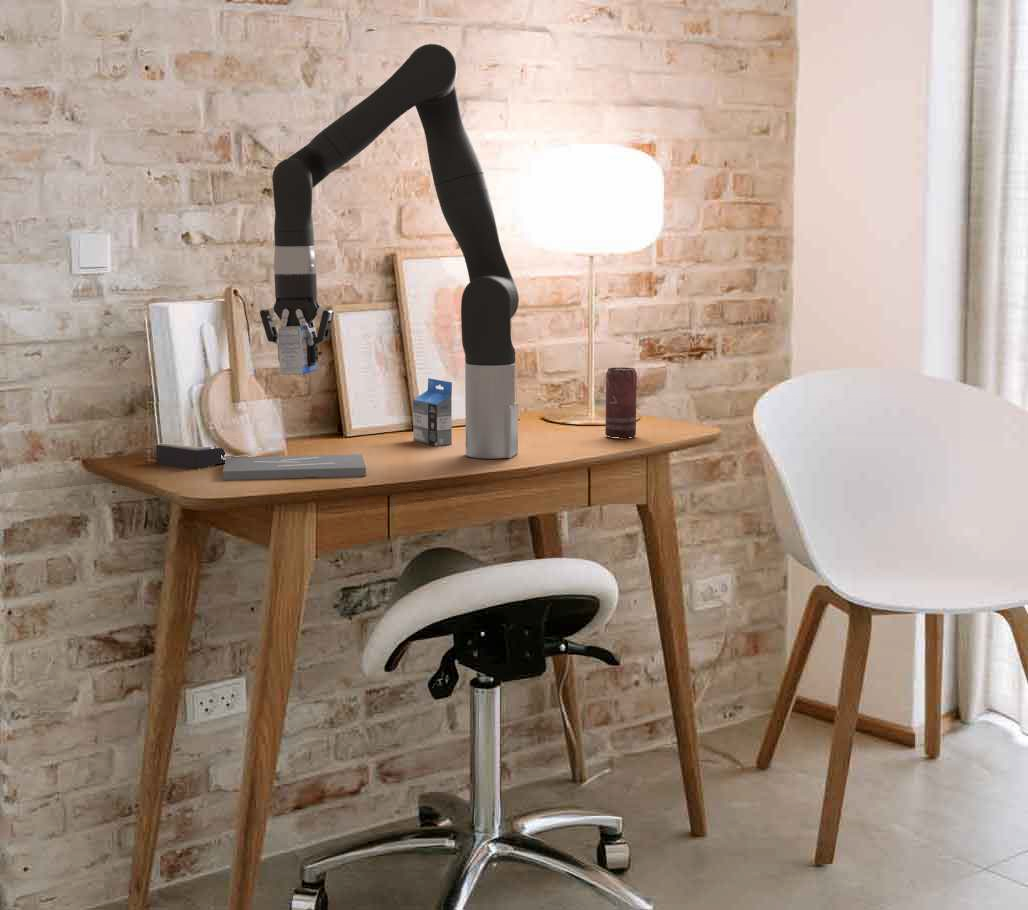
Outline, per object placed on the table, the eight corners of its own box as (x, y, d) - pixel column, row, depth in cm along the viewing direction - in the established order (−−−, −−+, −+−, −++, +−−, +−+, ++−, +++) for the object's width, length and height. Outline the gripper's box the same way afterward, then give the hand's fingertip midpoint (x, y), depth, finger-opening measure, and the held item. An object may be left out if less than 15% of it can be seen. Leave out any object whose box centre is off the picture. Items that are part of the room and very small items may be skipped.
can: (628, 440, 273) (629, 370, 271) (600, 437, 277) (601, 368, 274) (642, 436, 278) (643, 367, 276) (614, 433, 282) (615, 366, 279)
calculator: (259, 440, 252) (195, 446, 240) (259, 463, 253) (195, 470, 241) (219, 434, 259) (154, 440, 247) (219, 457, 259) (154, 464, 247)
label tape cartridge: (412, 440, 273) (411, 379, 271) (428, 439, 275) (427, 378, 273) (436, 446, 266) (435, 383, 264) (453, 444, 268) (452, 382, 266)
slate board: (361, 462, 248) (361, 454, 248) (366, 476, 234) (365, 467, 234) (226, 465, 244) (226, 457, 244) (222, 480, 231) (222, 471, 230)
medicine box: (302, 375, 247) (300, 327, 245) (279, 374, 248) (277, 326, 246) (317, 370, 255) (316, 323, 253) (295, 370, 255) (293, 323, 254)
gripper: (339, 270, 250) (342, 364, 253) (267, 270, 253) (270, 363, 256) (324, 272, 243) (327, 368, 246) (250, 272, 246) (253, 367, 249)
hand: (298, 365), depth 251 cm, fingers closed on medicine box, 4 cm apart
